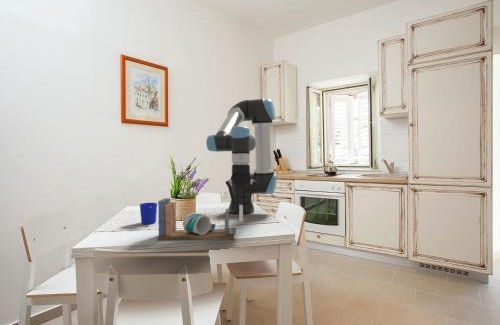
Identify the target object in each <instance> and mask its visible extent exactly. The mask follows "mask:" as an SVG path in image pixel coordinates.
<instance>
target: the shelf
mask: <svg viewBox="0 0 500 325" xmlns="http://www.w3.org/2000/svg"><path fill="white" fill-rule="evenodd" d="M157 212H158V213H157V214H158V237H157V241H200V240H201V241H210V240H211V241H215V240H216V241H217V240H221V241H222V240H225V241H226V240H228V241H229V240H235V239H234V238H235V235H225V228H224V229H223V228H221V229H220V228H219V229H214V230H209V231H208V232H207V233H206V234H205V235H197V234H193V233H190V232H187V231H186V230H184V229H177V202H176V201H171V197H170V198H168V197H166V198H162V199H160V200H158V203H157Z"/></svg>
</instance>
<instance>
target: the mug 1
mask: <svg viewBox="0 0 500 325" xmlns="http://www.w3.org/2000/svg"><path fill="white" fill-rule="evenodd" d="M139 210H140V211H139V212H140V221H141V224H142V225H153V224H156V222H157V214H158V213H157V212H158V203H157V202H142V203H140V204H139Z"/></svg>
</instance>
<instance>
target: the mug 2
mask: <svg viewBox="0 0 500 325" xmlns="http://www.w3.org/2000/svg"><path fill="white" fill-rule="evenodd" d="M182 226H183V230H186V231H187V232H190V233H193V234H197V235H205V234H206V233H207V232H208V231H209V230H214V229H215V228H216V224H215V223H212V222H211V220H210V217H209V216H207V215H206V214H201V213H196V212H191V213H190V212H189V213H188V214H186V215H185V217H184V218H183V222H182Z"/></svg>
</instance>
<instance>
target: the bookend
mask: <svg viewBox="0 0 500 325" xmlns="http://www.w3.org/2000/svg"><path fill="white" fill-rule="evenodd" d="M224 229H225V235H234V236H235V235H236V232H237V231H236V230H237V228H236V227H230V212H229V208H226V209H225V211H224Z"/></svg>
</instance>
